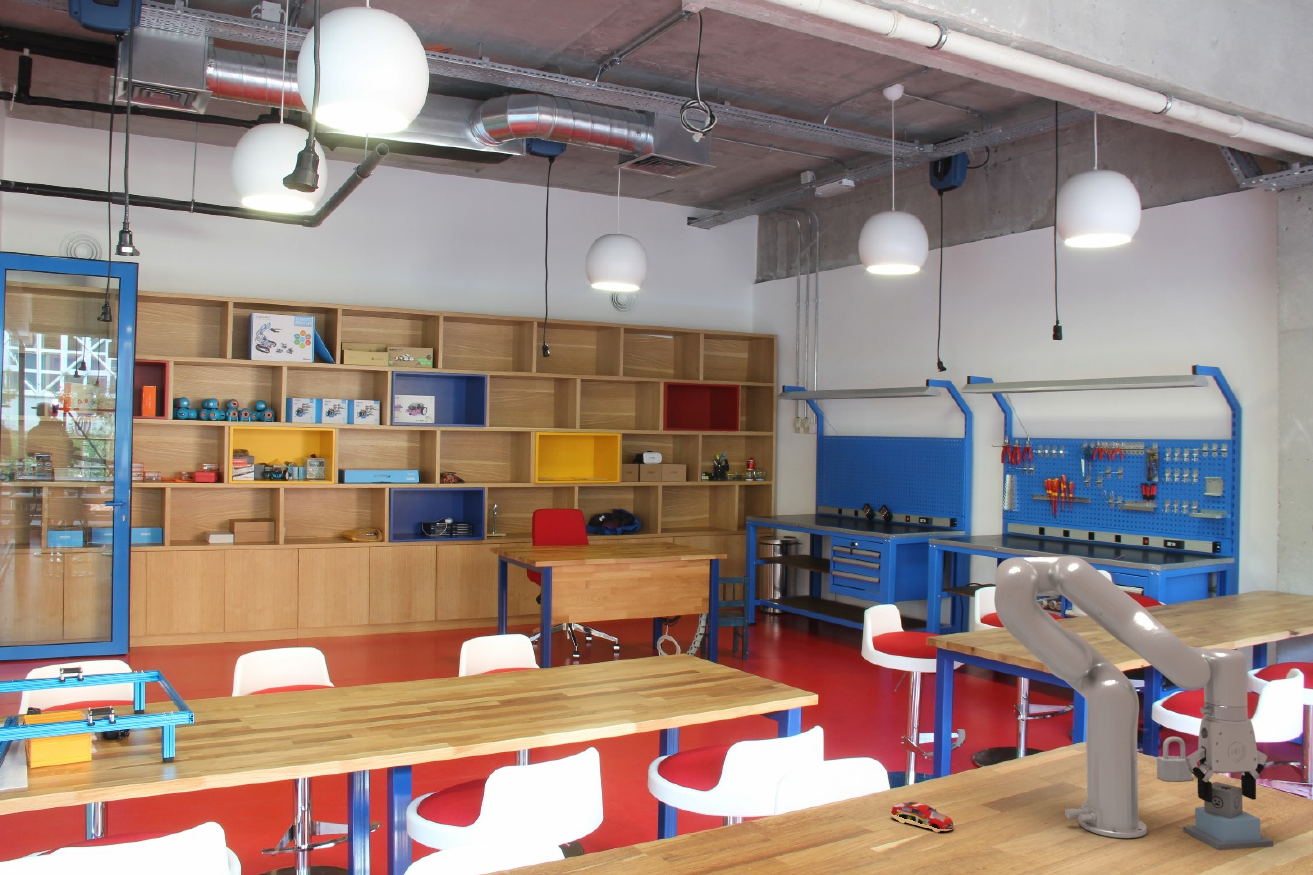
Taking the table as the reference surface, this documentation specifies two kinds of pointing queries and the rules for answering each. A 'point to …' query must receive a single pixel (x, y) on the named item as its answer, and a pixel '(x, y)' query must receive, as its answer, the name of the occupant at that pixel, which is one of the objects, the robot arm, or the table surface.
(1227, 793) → the dice cube
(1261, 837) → the base
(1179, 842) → the table surface
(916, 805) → the race car
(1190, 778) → the padlock
